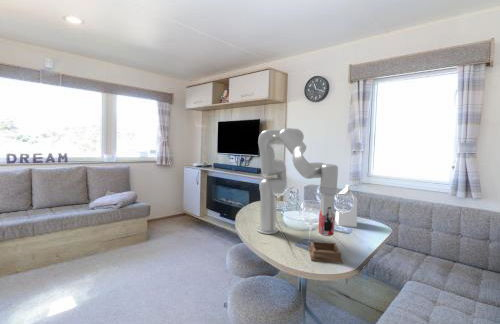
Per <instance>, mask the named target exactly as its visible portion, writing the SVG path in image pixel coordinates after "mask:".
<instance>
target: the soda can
mask: <svg viewBox="0 0 500 324" xmlns="http://www.w3.org/2000/svg"><path fill="white" fill-rule="evenodd" d="M326 215H328V214H326ZM318 217H319V218H318V234H320V235H321V236H323V237H332V236H334V234H335V233H334V232H335V223H336V221H335V217H336V212H334V215H333V216H332V230H331V231H325V230H324V224H325V215H324V216H323V215H322V212H321V211H320V210H319V216H318ZM327 218H328V217H327Z"/></svg>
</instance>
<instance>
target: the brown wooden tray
mask: <svg viewBox="0 0 500 324" xmlns="http://www.w3.org/2000/svg"><path fill="white" fill-rule="evenodd" d="M308 248H309V249H308V252H309V256H310V261H312V262H322V263H323V262H324V263H333V264H336V263H337V264H344V259H343V258H342V252H341V251H340V249H339V247H338V245H337V243H336V242H323V241H313V240H312V241H310V245H309V246H308Z"/></svg>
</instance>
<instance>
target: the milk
mask: <svg viewBox="0 0 500 324" xmlns="http://www.w3.org/2000/svg"><path fill="white" fill-rule="evenodd" d="M338 194H349V195H353V197H354V207H353V209H352V210H351V211H350V212H347V213H343V214H342V213H341V212H340V211H339V212H338V211H336V210H335V223H336V224H337V226H339V227H340V226H341V227H353V228H357V227H358V226H357V225H358V222H357V221H358V218H357V217H358V198H357V196H356V195H355V193H353V192H352V191H351V185H350V184H345V188H343V189H342V190H340V191H339V193H338Z"/></svg>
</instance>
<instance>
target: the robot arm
mask: <svg viewBox="0 0 500 324" xmlns="http://www.w3.org/2000/svg"><path fill="white" fill-rule="evenodd" d="M303 133H304V132H303V131H302V130H301V129H299V128H290V127H286V128H283V129H266V130H265V129H264V130H263V131H261V132H260V133H259V136H258V139H257V140H258V141H257V144H258V149H259V156H260V171H261V174H262V176H266V178H263V179H262V180H261V181H260V182H259V193H260V202H259V203H260V206H259V207H260V211H259V212H260V213H259V226H257V228H256V231H257V232H258V233H261V234H264V235H274V234H277V233H278V232H279V228H278V227H277V203H278V202H277V198H276V196H275V195H276V194H281V193H284V192H285V191H286V189H287V187H288V183H287V179H288V178H287V168H286V164H285V162H284V161H283V160H281V159H276V157H275V154H276V153H275V151H274V150H275V149H274V148H273V146H272V145H276V146H277V145H284V147H286V149H287V150H288V151H289V153H290V154H291V156H292V163H293V166H294V168H295V170H296V171H297V172H298V173H299V174H300V176H301V177H303V178H304V179H308V180H309V179H320V185H319V187H320V188H319V194H320V196H321V197H320V206H319V212H320V211H321V212H322V215H323V216H324V215H325V224H324V230H325V231H331V230H332V216H333V215H334V213H335V212H334V211H335V196H338V178H339V177H338V176H339V167H338V165H336V164H330V163H329V164H328V163H324V162H309V161H308V160H307V159H306V157H305V156H304V153H305V152H306V150H307V145H306V144H305V142H304V138H305V137H304V136H305V135H304V134H303ZM269 176H270V177H269ZM272 176H274V177H272ZM267 177H268V178H267ZM326 214H328V215H326ZM327 217H328V218H327Z"/></svg>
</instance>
